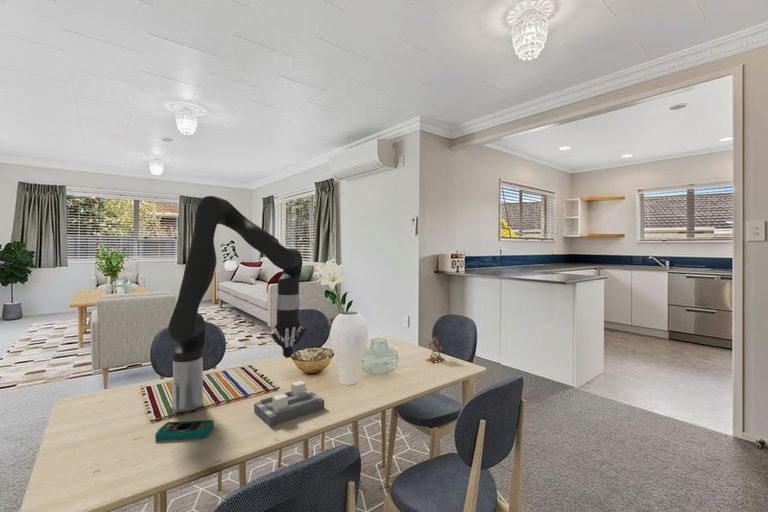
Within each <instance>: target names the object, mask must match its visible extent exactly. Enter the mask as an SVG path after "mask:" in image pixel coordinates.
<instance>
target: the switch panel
mask: <svg viewBox="0 0 768 512" xmlns="http://www.w3.org/2000/svg"><path fill="white" fill-rule="evenodd" d="M283 393H284V394H285V395H287V396H288V407H286V408H283V409H280V410H277V411H275V410H274V409H272V397H273V396H276V395H280V394H283ZM283 393H279V394H275V395H272V396H268V397H265V398H261V399H260V401H258V402H254V403H253V412H254V413H255V415H257V416H258V417H259V418H260V419H261V420H262V421H263V422H264V423H265V424H266V425H267V426H268V427H273V426H277V425H279V424H283V423H285V422H288V421H291V420H294V419H297V418H300V417H303V416H306V415H309V414H312V413H315V412H317V411H321V410H323V409H325V399H324V398H323V397H320V396H319V395H317V394H316V393H315V392H313V391H311V390H309V389H308V388H306V393H304V394H301V395H297V396H294V395H292V394H291V390H290V391H286V392H283Z"/></svg>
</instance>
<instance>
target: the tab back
mask: <svg viewBox="0 0 768 512" xmlns="http://www.w3.org/2000/svg"><path fill="white" fill-rule="evenodd" d="M290 387H291V390H290V391H291V394H292V395H294V396H297V395H301V394H304V393H306V389H307V388H306V387H307V386H306V382H305V381H303V380H298V381H294V382H291V386H290Z"/></svg>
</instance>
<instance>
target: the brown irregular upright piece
mask: <svg viewBox="0 0 768 512" xmlns="http://www.w3.org/2000/svg"><path fill="white" fill-rule="evenodd" d="M439 341H440V339H439V337H436V336H434V337H433V338H432V340H431V341H429V342H428V346H429V348H431V349H432V352H431V355H430V357H429V358H427V359H425V360H426V361H425V362H427V361H429V362H435V361H439V360H444V361H445V358H444V357H442V356H441V354H440V351H441V350H442V349H443V345H442V344H441V343H439ZM438 345H439V346H438ZM432 346H433V347H432ZM436 352H437V353H436ZM437 354H438V355H437ZM429 362H428V363H429ZM435 363H436V362H435Z"/></svg>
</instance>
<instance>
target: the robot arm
mask: <svg viewBox="0 0 768 512" xmlns="http://www.w3.org/2000/svg"><path fill="white" fill-rule="evenodd" d="M218 225H222V226H224V227H227V228H229V229H230V230H233V231H234V232H235V233H237V234H239V236H240V237H241V238H242V239H243V240H244V241H245V242H246V243H247V244H248V245H249V246H250V247H252V248H253V249H255V250H256V251H257V252H259V253H260V254H262V255H264V256H265V257H266V258H267V259H268V260H269V261H270V262H271V263H272V265H274V266H275V267H277V268H279V269H281V270H282V274H281V276H280V277H279V278H278V281H277V298H276V324H275V328H274V329H273V330H272V331H269V333H268V335H269V336H270V338H271V339H272V340H273V341H274V342H275V343H276V344H277V345H278V346H280V347H282V356H283V357H284V358H285V359H289V358H292V357H291V356H292V355H293V346H295V345H297V344H298V343H299V342H300V340H301V338H302V337H303V335H304V334H305V333H306V327H305V328H304V327H302V326H301V323H300V304H301V303H300V278H301V273H302V269H303V268H302V267H303V257H302V253H301V252H300V251H299V250H298V249H296V248H287V247H285V246H283V244H281V243H280V241H279V239H278V238H277V237H275V236H273V235H272V234H271V233H269V232H268V231H266V230H265V229H264V228H262V227H260V226H259V225H257V224H255V223H254V222H252V221H251V220H250V219H248V218H247V217H246V216H244V215H243V214H242V213H241V212H240V211H239V210H238V209H237V208H236V207H235V206H234V205H233V204H232V203H231V202H230V201H229V200H227V199H224V198H222V197H218V196H214V195H206V196H203V197H202V198H201V199H200V200H199V202H198V203H197V206H196V212H195V217H194V227H193V234H192V239H191V244H190V248H189V252H188V256H187V259H186V263H185V267H184V272H183V275H182V280H181V285H180V288H179V291H178V292H179V293H178V298H177V301H176V304H175V307H174V310H173V311H172V312H173V313H172V315H171V317H170V320H169V324H168V329H167V330H168V335H169V337H170V338H171V340H172V341H174V342H175V343H177V346H176V347H175V349H174V350H173V352H172V380H171V407H172V409H173V410H174V412H175V413H178V412H179V413H180V412H182V413H183V412H189V411H193V410H196V409H198V408H200V407H201V406H202V405H203V404H204V387H203V386H204V385H203V383H204V381H203V380H204V378H203V377H204V373H203V368H204V367H203V366H204V365H203V363H204V362H203V358H204V357H203V355H204V354H203V352H204V349H205V347H206V346H205V345H206V322H205V319H204V317H203V316H202V314H201V313H199V307H200V305H201V302H202V300H203V298H204V296H205V294H206V293H207V291H208V289H209V287H210V285H211V284H212V282H213V279H214V275H215V271H216V267H217V253H216V250H215V249H216V248H215V243H214V242H215V241H214V240H215V233H216V229H217V226H218ZM278 336H280V338H279V337H278Z"/></svg>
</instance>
